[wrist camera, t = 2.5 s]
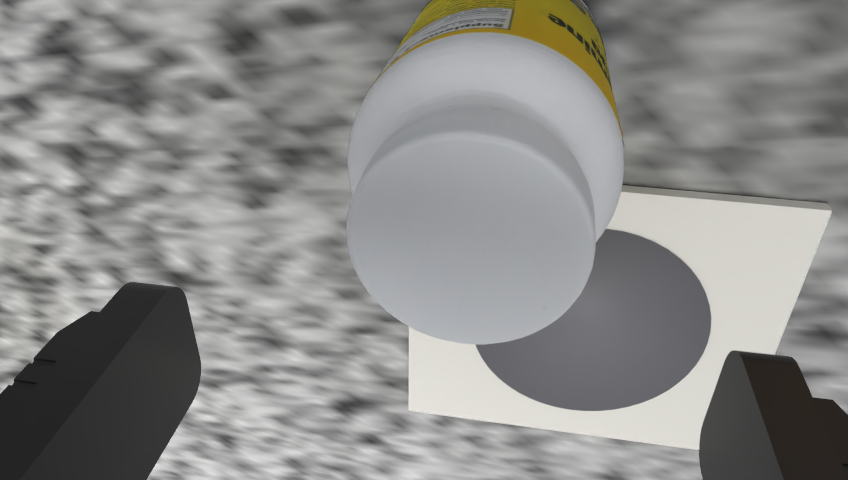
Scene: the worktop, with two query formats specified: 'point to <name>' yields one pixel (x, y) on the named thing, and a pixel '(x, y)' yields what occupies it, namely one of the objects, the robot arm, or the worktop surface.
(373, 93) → the pill bottle
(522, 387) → the white square coaster
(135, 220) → the worktop surface
